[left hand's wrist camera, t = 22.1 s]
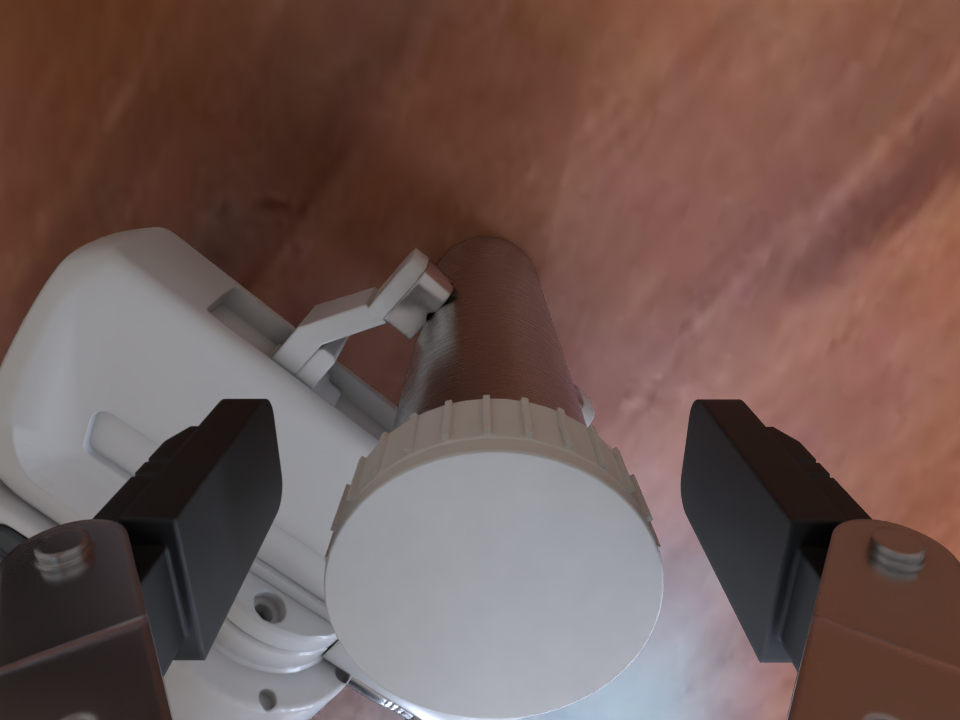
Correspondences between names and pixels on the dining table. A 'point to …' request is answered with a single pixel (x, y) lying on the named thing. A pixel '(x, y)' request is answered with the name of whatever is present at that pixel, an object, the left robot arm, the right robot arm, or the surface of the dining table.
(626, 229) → the dining table surface
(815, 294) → the dining table surface
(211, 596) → the left robot arm
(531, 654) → the lid
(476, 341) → the jar
